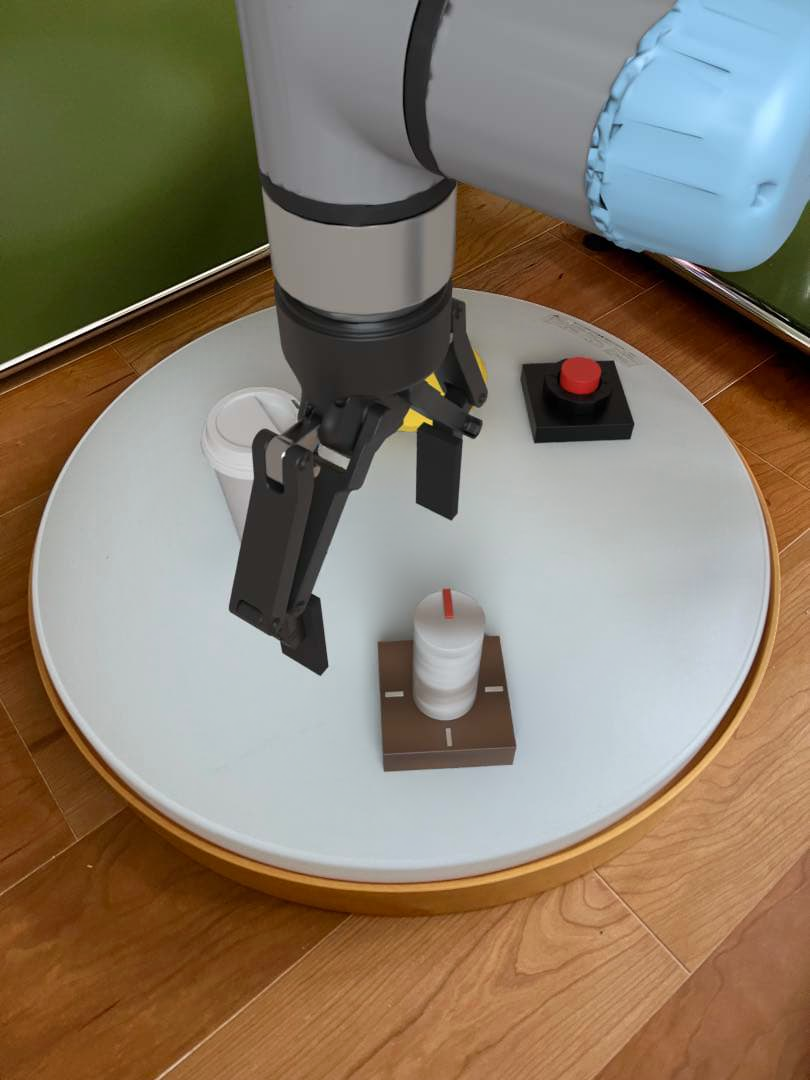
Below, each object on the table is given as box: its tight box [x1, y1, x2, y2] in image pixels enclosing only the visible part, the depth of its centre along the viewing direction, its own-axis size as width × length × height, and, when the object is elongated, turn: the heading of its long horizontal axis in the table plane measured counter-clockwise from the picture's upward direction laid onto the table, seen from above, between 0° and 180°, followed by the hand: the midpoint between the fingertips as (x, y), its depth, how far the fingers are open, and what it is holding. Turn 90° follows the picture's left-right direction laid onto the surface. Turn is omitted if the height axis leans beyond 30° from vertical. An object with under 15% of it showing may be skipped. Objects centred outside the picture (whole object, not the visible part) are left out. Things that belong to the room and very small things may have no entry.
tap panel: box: [377, 635, 517, 773], centre depth 71 cm, size 10×10×3 cm
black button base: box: [519, 357, 635, 444], centre depth 94 cm, size 10×10×4 cm
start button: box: [559, 356, 601, 395], centre depth 92 cm, size 4×4×2 cm
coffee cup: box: [200, 386, 301, 543], centre depth 78 cm, size 10×10×15 cm
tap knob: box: [412, 587, 486, 720], centre depth 66 cm, size 5×5×10 cm
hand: (375, 579), depth 54 cm, fingers open, 13 cm apart
